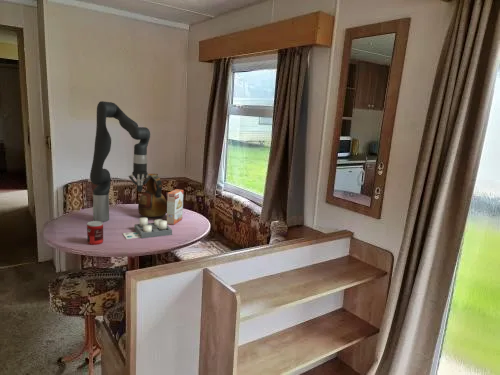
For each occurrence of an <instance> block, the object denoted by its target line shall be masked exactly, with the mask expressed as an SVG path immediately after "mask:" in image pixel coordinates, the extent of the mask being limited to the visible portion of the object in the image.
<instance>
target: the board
mask: <svg viewBox="0 0 500 375" xmlns="http://www.w3.org/2000/svg"><path fill="white" fill-rule="evenodd" d="M148 225H151V226H152V232H143V227H140V226H139V223H136V224H134V225H133V226H134V227H133V228H134V232H137V233H138V234H139V235H140V236H141V238H140V239H147V238H157V237H165V236H172V235H173V229H172V228H171V227H169V225H167V229H166V230H159V226H154V222H148Z"/></svg>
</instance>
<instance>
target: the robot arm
mask: <svg viewBox="0 0 500 375" xmlns="http://www.w3.org/2000/svg"><path fill="white" fill-rule="evenodd" d="M107 118H109V119H110V118H111V119H112V118H113V119H116V120H117V121H118V123H119V125H120V126H121V128H123V129H124V130H125V131H126V132H127V133H128V134H129V135H130V137H131V138H132V139H133V140H137V141H139V142H138V143H136V144H134V145H133V160H132V161H133V162H132V163H133V164H132V166H133V168H132V172H131V174H130V175H128V178H129V179H130V181H131V182H132V183H133V184H134V185H136V191H137V192H138V193H139V192H140V193H141V192H143V186H144V185H147V184H146V183H147V182H148V181H149V179H150V178H151V176H150V175H148V174H149V173H148V156H147V155H148V154H147V153H148V145H149V142H150V138H151V131H150V129H149V128H148V127H146V126H145V127H144V126H143V127H142V126H141V127H140V126H139V125H138V123H137V122H136V121H135V120H134V119H132V118H131V117H129V116H128V115H127V114H126V113H125V112H124V111H123V110H122V109H121V108H120V107H119V106H118V105H117V104H116V103H115V102H112V101H103V100H101V101H98V103H97V107H96V127H95V128H96V130H95V139H94V149H93V157H92V164H91V168H90V172H89V174H90V175H89V179H90V181H91V183H92V184H93V185H96V187H95V188H94V189H93V191H92V195H93V196H92V198H93V203H92V218H93V219H92V220H93V221H101V222H108V221H109V220H110V190H111V178H112V177H111V174H110V171H109V170H108V169H107V168H104V163H105V161H106V159H107V157H108V156H109V154H110V151H111V149H112V148H111V147H112V137H111V134H110V132H109V130H108V128H107ZM145 177H146V179H145Z"/></svg>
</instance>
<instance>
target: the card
mask: <svg viewBox="0 0 500 375" xmlns="http://www.w3.org/2000/svg"><path fill="white" fill-rule="evenodd" d="M122 235H123V236H124V238H125V239H126V240H131V239H138V238H139V239H142V238H141V236H140V235H139V234H138V233H137V232H136V231H134V232H132V231H131V232H124V233H122Z"/></svg>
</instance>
